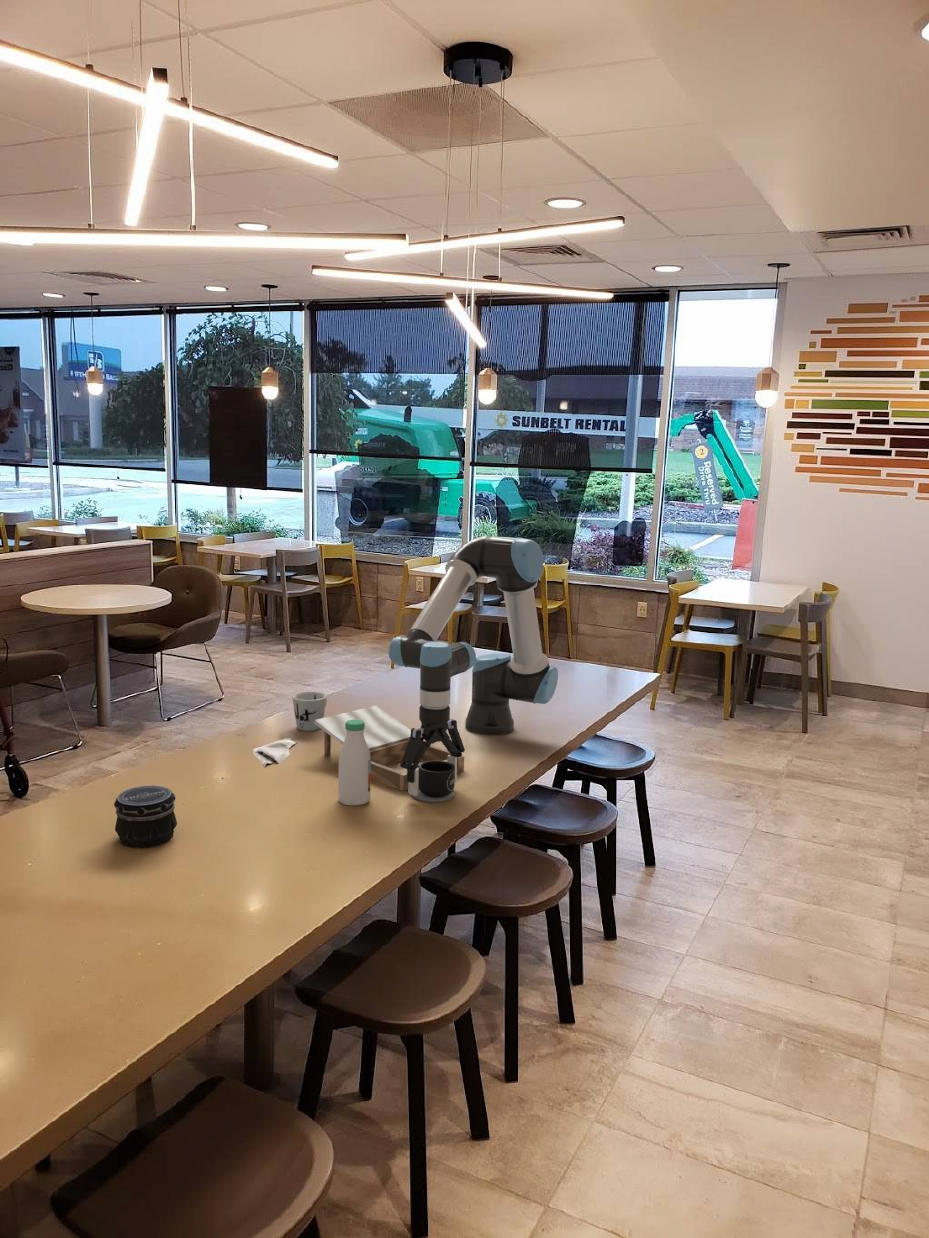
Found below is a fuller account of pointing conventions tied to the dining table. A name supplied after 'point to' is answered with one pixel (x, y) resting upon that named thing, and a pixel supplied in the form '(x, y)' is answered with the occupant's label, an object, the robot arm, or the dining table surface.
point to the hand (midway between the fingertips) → (432, 787)
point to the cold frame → (380, 742)
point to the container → (145, 816)
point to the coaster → (432, 799)
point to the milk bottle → (354, 766)
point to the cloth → (274, 751)
